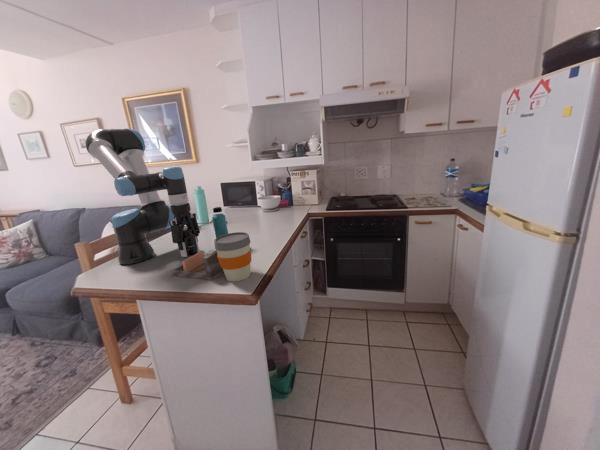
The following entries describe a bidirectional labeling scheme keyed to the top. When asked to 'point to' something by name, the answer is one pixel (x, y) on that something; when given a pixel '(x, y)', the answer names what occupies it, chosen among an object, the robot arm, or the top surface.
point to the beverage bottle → (219, 222)
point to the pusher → (193, 261)
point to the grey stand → (202, 269)
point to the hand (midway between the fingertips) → (190, 252)
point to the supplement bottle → (190, 242)
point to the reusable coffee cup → (234, 255)
